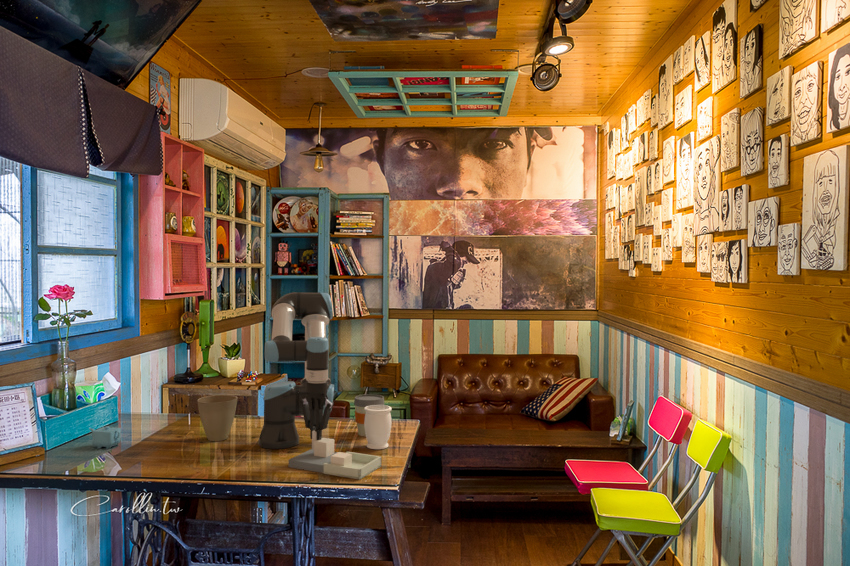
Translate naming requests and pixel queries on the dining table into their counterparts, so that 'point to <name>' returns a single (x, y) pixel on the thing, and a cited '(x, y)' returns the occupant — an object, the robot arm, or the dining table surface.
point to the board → (310, 461)
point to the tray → (355, 466)
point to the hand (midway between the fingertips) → (315, 448)
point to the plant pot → (217, 415)
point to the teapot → (106, 437)
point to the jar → (377, 426)
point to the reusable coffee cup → (360, 412)
